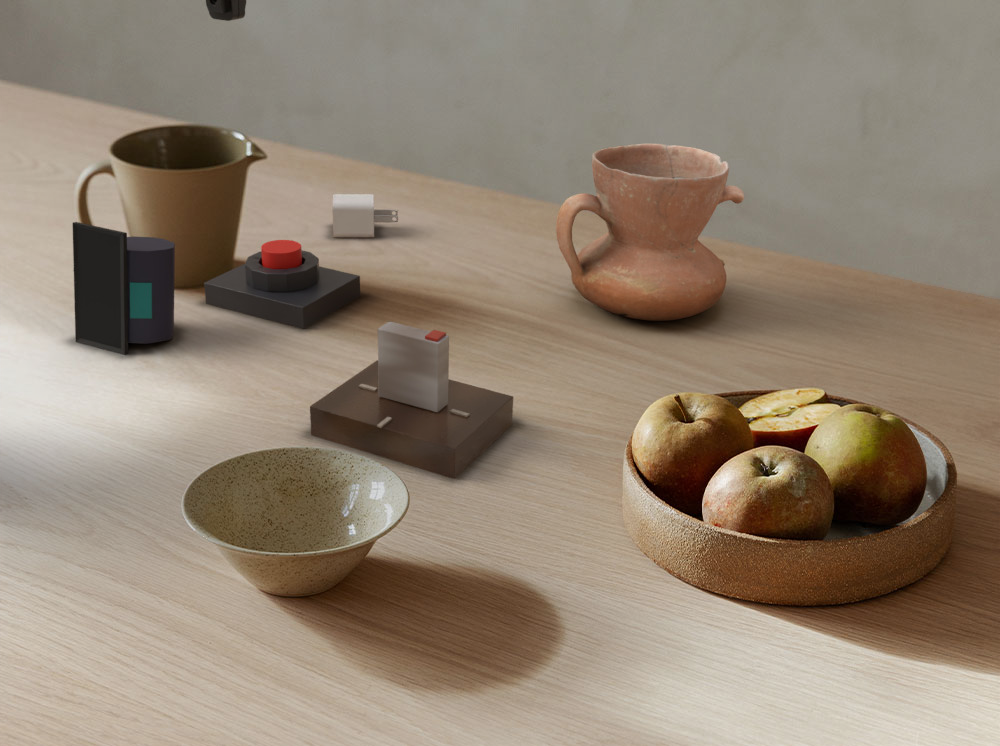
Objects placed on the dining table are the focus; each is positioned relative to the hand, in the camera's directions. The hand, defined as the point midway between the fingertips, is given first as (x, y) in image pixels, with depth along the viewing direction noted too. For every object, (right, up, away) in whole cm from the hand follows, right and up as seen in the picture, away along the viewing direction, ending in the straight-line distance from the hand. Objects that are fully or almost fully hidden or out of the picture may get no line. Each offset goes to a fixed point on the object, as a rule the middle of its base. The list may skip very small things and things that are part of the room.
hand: (227, 18), depth 81 cm
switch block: (0, -19, +22) cm, 29 cm away
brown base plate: (+14, -30, 0) cm, 33 cm away
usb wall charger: (+6, -11, +39) cm, 41 cm away
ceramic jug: (+34, -20, +24) cm, 46 cm away
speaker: (-11, -23, +14) cm, 29 cm away
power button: (0, -16, +20) cm, 26 cm away
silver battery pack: (+14, -28, -1) cm, 31 cm away
